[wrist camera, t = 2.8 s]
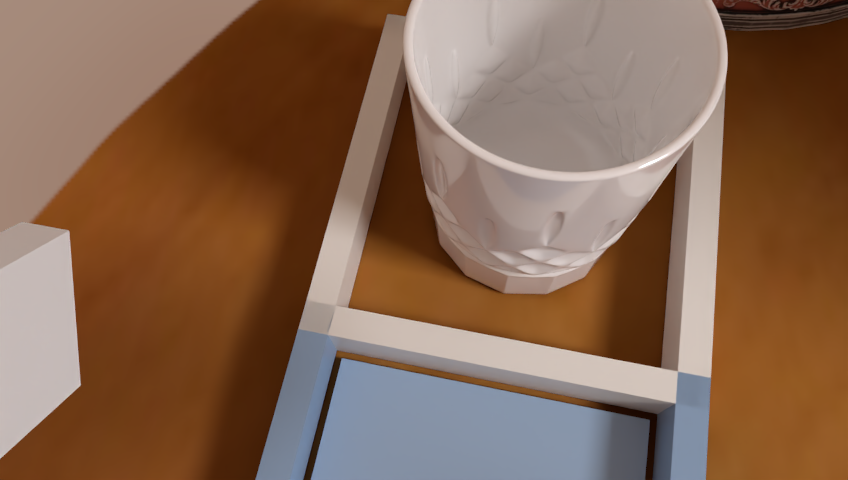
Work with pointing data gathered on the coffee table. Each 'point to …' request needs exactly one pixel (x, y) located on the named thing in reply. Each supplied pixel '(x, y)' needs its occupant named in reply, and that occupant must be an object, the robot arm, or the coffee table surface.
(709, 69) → the white cup
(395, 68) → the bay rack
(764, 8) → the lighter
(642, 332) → the coffee table surface
